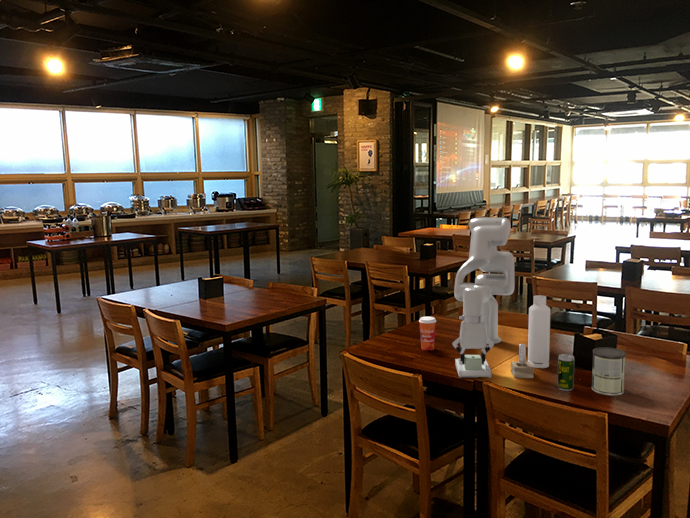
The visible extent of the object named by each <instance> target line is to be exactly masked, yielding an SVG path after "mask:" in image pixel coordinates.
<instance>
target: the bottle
mask: <svg viewBox="0 0 690 518" xmlns="http://www.w3.org/2000/svg"><path fill="white" fill-rule="evenodd" d="M550 331H551V308H550V306H548V305H547V296H546V295H542V294H541V295H539V294H537V295H536V294H535V295H533V304H532V305H531V306H530V307H528V331H527V333H528V339H527V341H528V343H527V362H530V363H531V365H532V366H533V367H534V369H535V368H536V369H546V368H548V367H549V366H550V344H551V343H550V341H551V340H550V336H551V335H550V334H551V332H550Z"/></svg>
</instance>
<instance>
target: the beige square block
mask: <svg viewBox="0 0 690 518" xmlns="http://www.w3.org/2000/svg"><path fill="white" fill-rule="evenodd" d="M534 371H535V367H533V366H532V365H531V363H530V362H528V361H525V366H519V361H510V373H511V375H512V376H513V378H514V379H534V375H535V374H534V373H535V372H534Z"/></svg>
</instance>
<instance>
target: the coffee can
mask: <svg viewBox="0 0 690 518" xmlns="http://www.w3.org/2000/svg"><path fill="white" fill-rule="evenodd" d="M626 356H627V355H626V352H625V351H624V350H621V349H619V348H614V347H604V346H603V347H600V346H599V347H595V348H593V349H592V372H591V373H592V375H591V389H592V391H594V392H595V393H597V394H600V395H604V396H611V397H612V396H620V395H623V394H624V393H625V391H624V390H625V367H626V366H625V365H626V364H625V363H626Z"/></svg>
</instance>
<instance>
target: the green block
mask: <svg viewBox="0 0 690 518" xmlns="http://www.w3.org/2000/svg"><path fill="white" fill-rule="evenodd" d="M464 368H465V370H482V359H481V354H465V364H464Z"/></svg>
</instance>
